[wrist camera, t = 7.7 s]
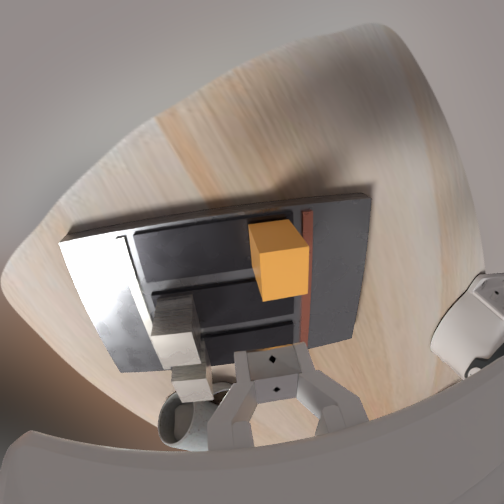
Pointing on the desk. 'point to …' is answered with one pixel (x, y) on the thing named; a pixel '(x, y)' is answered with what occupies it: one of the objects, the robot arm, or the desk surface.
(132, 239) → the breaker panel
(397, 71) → the desk surface
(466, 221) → the desk surface
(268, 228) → the toggle
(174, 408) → the ceramic mug
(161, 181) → the desk surface
